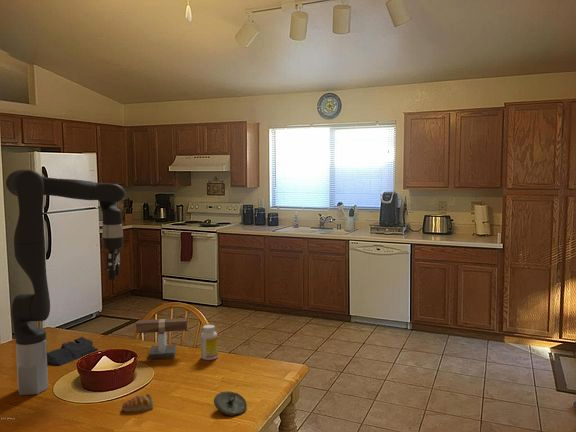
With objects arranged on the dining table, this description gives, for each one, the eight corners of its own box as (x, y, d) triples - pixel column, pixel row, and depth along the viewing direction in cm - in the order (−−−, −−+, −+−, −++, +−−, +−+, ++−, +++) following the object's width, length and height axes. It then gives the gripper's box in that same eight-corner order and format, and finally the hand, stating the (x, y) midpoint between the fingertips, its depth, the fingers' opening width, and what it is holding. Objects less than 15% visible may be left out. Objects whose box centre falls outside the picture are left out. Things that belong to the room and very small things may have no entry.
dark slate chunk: (31, 362, 194) (30, 350, 194) (75, 344, 214) (75, 334, 214) (59, 368, 188) (58, 356, 187) (102, 349, 208) (101, 338, 207)
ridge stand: (174, 357, 197) (173, 333, 196) (148, 359, 195) (148, 334, 195) (176, 349, 207) (175, 326, 206) (151, 350, 205) (151, 327, 204)
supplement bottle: (221, 356, 198) (220, 325, 197) (210, 361, 193) (209, 330, 192) (208, 353, 202) (208, 323, 201) (197, 358, 196) (197, 327, 195)
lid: (230, 399, 160) (230, 384, 160) (253, 407, 155) (253, 392, 154) (207, 411, 152) (207, 395, 152) (230, 420, 146) (230, 404, 146)
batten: (186, 330, 200) (186, 320, 200) (136, 333, 197) (136, 323, 196) (187, 327, 204) (187, 318, 204) (137, 330, 201) (137, 320, 200)
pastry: (124, 416, 149) (124, 404, 149) (120, 407, 155) (119, 396, 155) (155, 409, 154) (154, 397, 154) (149, 400, 160) (149, 389, 160)
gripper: (119, 238, 181) (120, 281, 182) (126, 233, 195) (127, 273, 196) (98, 238, 180) (99, 281, 181) (106, 234, 194) (107, 274, 195)
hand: (114, 277), depth 189 cm, fingers open, 8 cm apart
